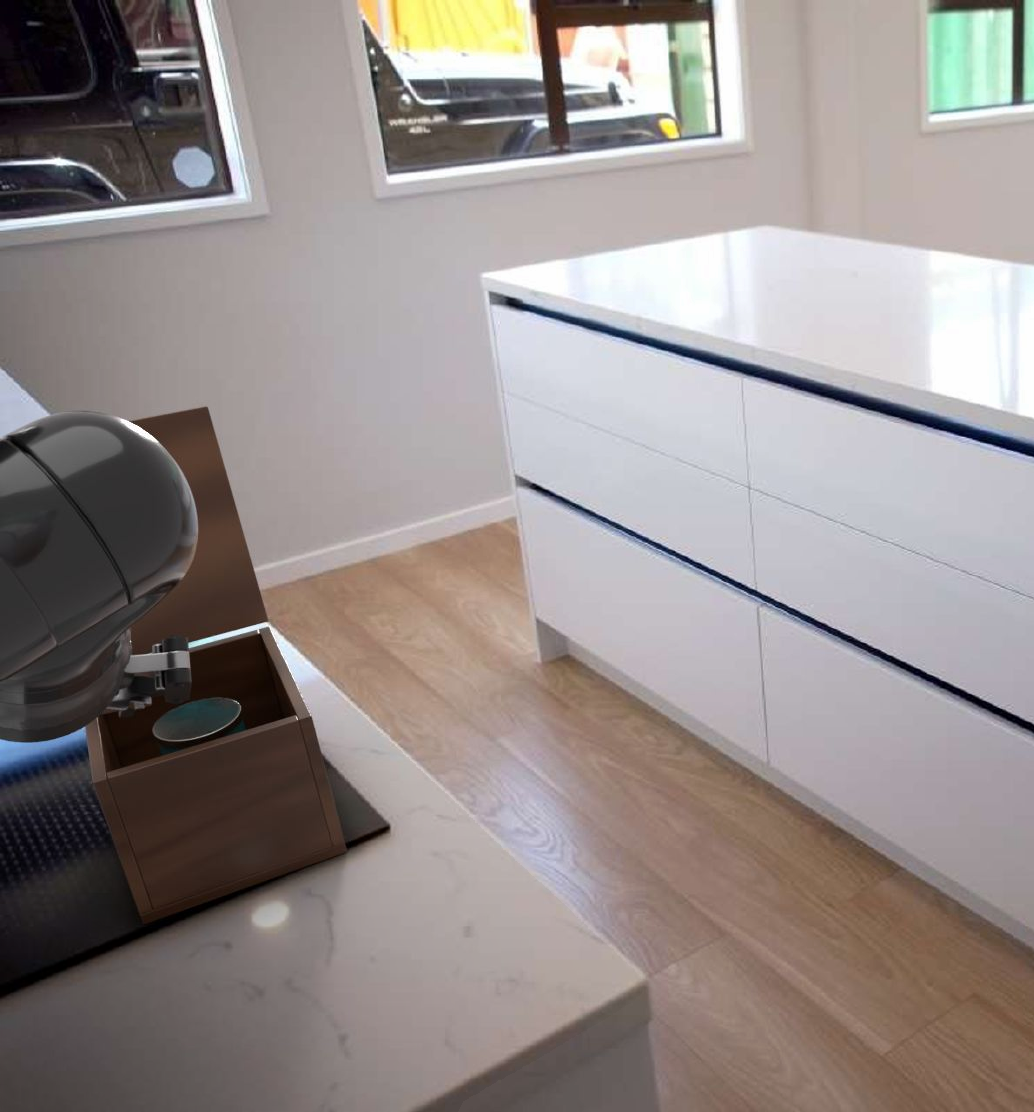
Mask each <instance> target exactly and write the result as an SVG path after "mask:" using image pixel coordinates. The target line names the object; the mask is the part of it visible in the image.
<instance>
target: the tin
mask: <svg viewBox="0 0 1034 1112" xmlns="http://www.w3.org/2000/svg"><path fill="white" fill-rule="evenodd" d="M242 731H246V729H245V725H244V722H243V712H242V709H241V706H240V704H239V703H238V702H236V701H235V700H232V699H228V698H207V699H201V700H197V701H193V702H190V703H187V704H184V705H181V706H179V707H177V708H175V709H172V710H171V711H169V712H167V713H166V714H164V715H163V716H162V717H160V718H159V719H158V720H157V721H156V723H155V724H154V726H153V735H154V738H155V741H156V742H157V743H158V745H159V748H160V751H161V754H162V756H163V755H167V754H170V753H173V752H177V751H180V750H183V749H186V748H190V747H193V746H196V745H200V744H203V743H206V742H209V741H213V740H216V739H219V738H223V737H226V736H229V735H232V734H236V733H239V732H242Z"/></svg>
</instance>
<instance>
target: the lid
mask: <svg viewBox="0 0 1034 1112" xmlns="http://www.w3.org/2000/svg"><path fill="white" fill-rule="evenodd" d="M127 421H128V422H130V423H132V424H134V425H136V426H138V427H139V428H141V429H142V430H144V431H145V432H146V433H148V434H149V435H150V436H152V437H153V438H154V439H156V440H157V441H158V442H159V443H160V444H161V445H162V446H163V447H164V448H165V449H166V450H167V451H168V453H169V454H170V455H171V456H172V457H173V459H174V460H175V461H176V463H177V464H178V466H179V467H180V469H181V470H182V472H183V474H184V476H185V478H186V480H187V482H188V484H189V487H190V489H191V492H192V495H193V498H194V502H195V506H196V511H197V518H198V540H197V547H196V552H195V555H194V559H193V561H192V563H191V565H190V567H189V569H188V571H187V573H186V575H185V576H184V577H183V579H182V580H181V581H180V583H179V584H178V585H177V586H176V587H175V588H174V589H173V590H172V591H171V592H170V593H169V594H168V595H167V596H166V597H165V598H164V599H162V600H161V601H160V602H159V603H158V604H157V605H156V606H155V607H154V608H153V609H152V610H151V611H149V612H148V613H147V614H146V615H145V616H144V617H142V618H141V619H140V620H139V621H137V622H136V623H135V624H134V625H132V626H131V647H132V652H131V654H132V655H144V654H153V649H152V646H153V645H155V644H162V640H163V639H165V638H169V637H170V636H174V635H179V636H180V637H187V638H188V644H190V643H194V642H198V641H202V640H205V639H208V638H212V637H216V636H218V635H223V634H227V633H232V632H235V631H238V630H243V629H246V628H249V627H250V628H251V627H253V626H257V625H261V624H264V623H265V624H266V623H268V622H269V618H268V613H267V610H266V607H265V603H264V600H263V596H262V593H261V590H260V589H261V588H260V585H259V582H258V579H257V575H256V571H255V568H254V565H253V561H252V558H251V554H250V551H249V547H248V543H247V540H246V536H245V532H244V529H243V526H242V522H241V518H240V515H239V511H238V508H237V504H236V500H235V497H234V494H233V490H232V487H231V484H230V479H229V477H228V476H229V475H228V473H227V469H226V466H225V463H224V458H223V454H222V452H221V448H220V445H219V441H218V438H217V433H216V430H215V427H214V424H213V419H212V417H211V413H210V409H209V406H207V405H202V406H197V407H191V408H187V409H181V410H176V411H171V412H166V413H160V414H156V415H150V416H145V417H140V418H139V417H138V418H135V419H130V420H127Z"/></svg>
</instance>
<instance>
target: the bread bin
mask: <svg viewBox="0 0 1034 1112" xmlns="http://www.w3.org/2000/svg"><path fill="white" fill-rule="evenodd" d="M189 657H190V670H191V681H192V684H191V692H190V699H189V700H186V701H183V703H179V704H172V702H171V703H169V702H165V695H162V696H156V697H153V698H152V705H151V706H148V707H145V708H144V709H139V710H135V713H134V716H133V717H123V718H120V717H119V711H118V712H113V713H108V714H100V715H99V716H98V717H97V718H96V719H95V720H93V721H92V722H91V723H89V724H88V725H86V726H85V727H84V729H85V736H86V737H85V738H86V743H87V750H88V759H89V767H90V773H91V781H92V785H93V789H94V791H95V794H96V796H97V800H98V802H99V805H100V808H101V811H102V814H103V817H104V819H105V822H106V825H107V828H108V830H109V834H110V837H111V839H112V842H113V844H114V848H115V850H116V853H117V855H118V858H119V862H120V865H121V867H122V869H123V872H124V875H125V878H126V881H127V883H128V886H129V889H130V892H131V894H132V898H133V900H134V904H135V906H136V909H137V912H138V914H139V917H140V920H141V923H142V925H147V924H149V923H153V922H155V921H158V920H161V919H165V918H166V917H170V916H172V915H175V914H178V913H180V912H184V911H186V910H189V909H191V908H194V907H197V906H200V905H203V904H205V903H209V902H212V901H214V900H217V899H219V898H222V897H225V896H228V895H230V894H234V893H236V892H239V891H242V890H244V889H248V888H250V887H253V886H256V885H258V884H261V883H264V882H267V881H270V880H272V879H275V878H278V877H281V876H284V875H287V874H289V873H293V872H295V871H298V870H301V869H303V868H306V867H309V866H311V865H314V864H317V863H320V862H322V861H326V860H328V859H332V858H334V857H337V856H339V855H342V854H346V853H347V852H348V849H347V845H346V841H345V836H344V833H343V830H342V825H341V821H340V817H339V814H338V812H337V811H338V810H337V807H336V806H337V805H336V802H335V799H334V795H333V791H332V788H331V784H330V780H329V777H328V772H327V769H326V765H325V762H324V758H323V754H322V750H321V746H320V742H319V738H318V734H317V731H316V727H315V723H314V720H313V716H312V714H311V712H310V709H309V707H308V705H307V702H306V701H305V698H304V696H303V694H302V692H301V690H300V688H299V686H298V683H297V681H296V680H295V677H294V675H293V673H292V671H291V669H290V667H289V664H288V663H287V660H286V658H285V656H284V654H283V652H282V650H281V647H280V645H279V643H278V640H277V639H276V637H275V634H274V632H273V630H272V628H271V626H268V625H267V626H264V627H261V628H258V629H253V630H250V631H246V632H242V633H240V634H236V635H231V636H229V637H225V638H221V639H217V640H213V641H209V642H206V643H202V644H199V645H195V646H191V647H189ZM207 698H228V699H232V700H235V701H236V702H238V703H239V704H240V706H241V709H242V712H243V722H244V725H245V729H246V731H242V732H239V733H236V734H232V735H229V736H226V737H223V738H219V739H216V740H213V741H209V742H206V743H203V744H200V745H196V746H193V747H190V748H186V749H183V750H180V751H177V752H173V753H170V754H167V755H163V756H162V754H161V751H160V748H159V745H158V743H157V742H156V741H155V738H154V735H153V726H154V724H155V723H156V721H157V720H158V719H159V718H160V717H162V716H163V715H164V714H166V713H167V712H169V711H171V710H172V709H175V708H177V707H179V706H181V705H184V704H187V703H190V702H193V701H197V700H201V699H207Z"/></svg>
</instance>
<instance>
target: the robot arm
mask: <svg viewBox="0 0 1034 1112" xmlns="http://www.w3.org/2000/svg"><path fill="white" fill-rule="evenodd" d="M128 421H129V420H126V419H124V418H121V417H118V416H115V415H113V414H108V413H106V412H105V413H104V412H100V411H93V410H81V409H80V410H67V411H61V412H57V413H52V414H49V415H46V416H44V417H41V418H38V419H36V420H33V421H31V422H28V423H27V424H24V425H23V426H20V427H19V428H17V429H15V430H12V431H10V432H9V433H6V434H4V435H2V438H0V740H1V741H6V742H13V743H21V744H22V743H23V744H25V743H26V744H27V743H28V744H33V743H42V742H48V741H53V740H57V739H60V738H64V737H67V736H69V735H71V734H74V733H76V732H79V731H80V730H81V729H83V728H85V726H86V725H88V724H89V723H91V722H92V721H93V720H95V719H96V718H97V717H98V716H99V715H100V714H108V713H113V712H118V711H119V717H120V718H123V717H133V716H134V713H135V710H139V709H144V708H145V707H148V706H151V705H152V698H153V697H156V696H162V695H165V702H169V703H171V702H172V704H179V703H183V701H186V700H189V699H190V692H191V684H192V681H191V670H190V657H189V648H190V647H189V646H190V645H189V643H188V638H187V637H180V636H179V635H174V636H170V637H169V638H165V639H163V640H162V644H155V645H153V646H152V649H153V653H149V654H144V655H132V654H131V652H132V647H131V626H132V625H134V624H135V623H136V622H137V621H139V620H140V619H141V618H142V617H144V616H145V615H146V614H147V613H148V612H149V611H151V610H152V609H153V608H154V607H155V606H156V605H157V604H158V603H159V602H160V601H161V600H162V599H164V598H165V597H166V596H167V595H168V594H169V593H170V592H171V591H172V590H173V589H174V588H175V587H176V586H177V585H178V584H179V583H180V581H181V580H182V579H183V577H184V576H185V575H186V573H187V571H188V569H189V567H190V565H191V563H192V561H193V559H194V555H195V552H196V547H197V540H198V518H197V511H196V506H195V502H194V498H193V495H192V492H191V489H190V487H189V484H188V482H187V480H186V478H185V476H184V474H183V472H182V470H181V469H180V467H179V466H178V464H177V463H176V461H175V460H174V459H173V457H172V456H171V455H170V454H169V453H168V451H167V450H166V449H165V448H164V447H163V446H162V445H161V444H160V443H159V442H158V441H157V440H156V439H154V438H153V437H152V436H150V435H149V434H148V433H146V432H145V431H144V430H142V429H141V428H139V427H138V426H136V425H134V424H132V423H130V422H128Z"/></svg>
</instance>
